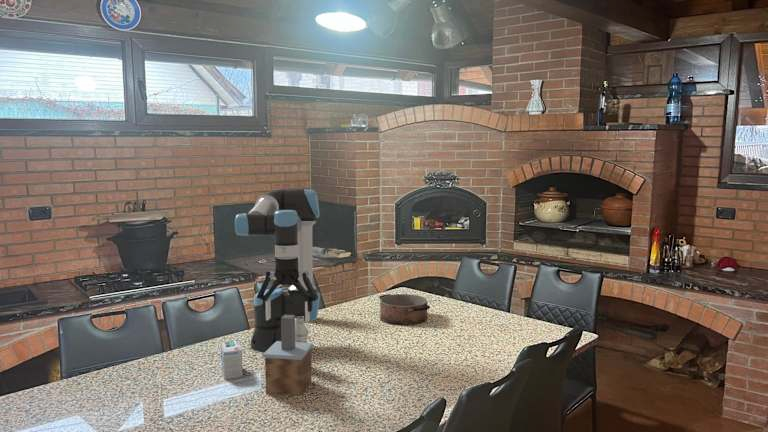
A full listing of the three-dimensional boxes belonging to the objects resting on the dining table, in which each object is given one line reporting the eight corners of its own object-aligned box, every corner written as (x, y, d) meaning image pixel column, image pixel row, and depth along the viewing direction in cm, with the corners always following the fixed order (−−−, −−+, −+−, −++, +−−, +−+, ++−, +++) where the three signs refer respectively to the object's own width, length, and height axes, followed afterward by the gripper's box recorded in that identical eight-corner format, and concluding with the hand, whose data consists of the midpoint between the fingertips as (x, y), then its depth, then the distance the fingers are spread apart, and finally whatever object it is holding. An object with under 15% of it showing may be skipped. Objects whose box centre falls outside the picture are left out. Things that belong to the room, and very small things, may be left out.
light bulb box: (221, 370, 209) (220, 342, 207) (239, 368, 211) (239, 340, 210) (223, 381, 199) (222, 351, 198) (243, 378, 201) (242, 349, 200)
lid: (263, 360, 184) (262, 321, 183) (276, 346, 197) (276, 310, 196) (301, 362, 182) (300, 323, 181) (312, 348, 195) (312, 311, 194)
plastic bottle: (292, 374, 205) (291, 320, 203) (290, 367, 211) (289, 315, 209) (310, 372, 207) (309, 319, 204) (307, 365, 213) (306, 314, 211)
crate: (266, 396, 186) (265, 357, 185) (278, 382, 198) (277, 344, 196) (301, 399, 184) (300, 359, 183) (311, 384, 196) (310, 346, 195)
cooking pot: (365, 319, 273) (365, 297, 272) (400, 311, 287) (400, 290, 286) (407, 334, 250) (407, 310, 249) (442, 324, 264) (443, 302, 263)
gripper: (246, 258, 184) (247, 321, 186) (320, 260, 180) (321, 325, 182) (255, 254, 192) (256, 315, 194) (326, 256, 188) (327, 318, 190)
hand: (287, 320), depth 188 cm, fingers open, 13 cm apart
